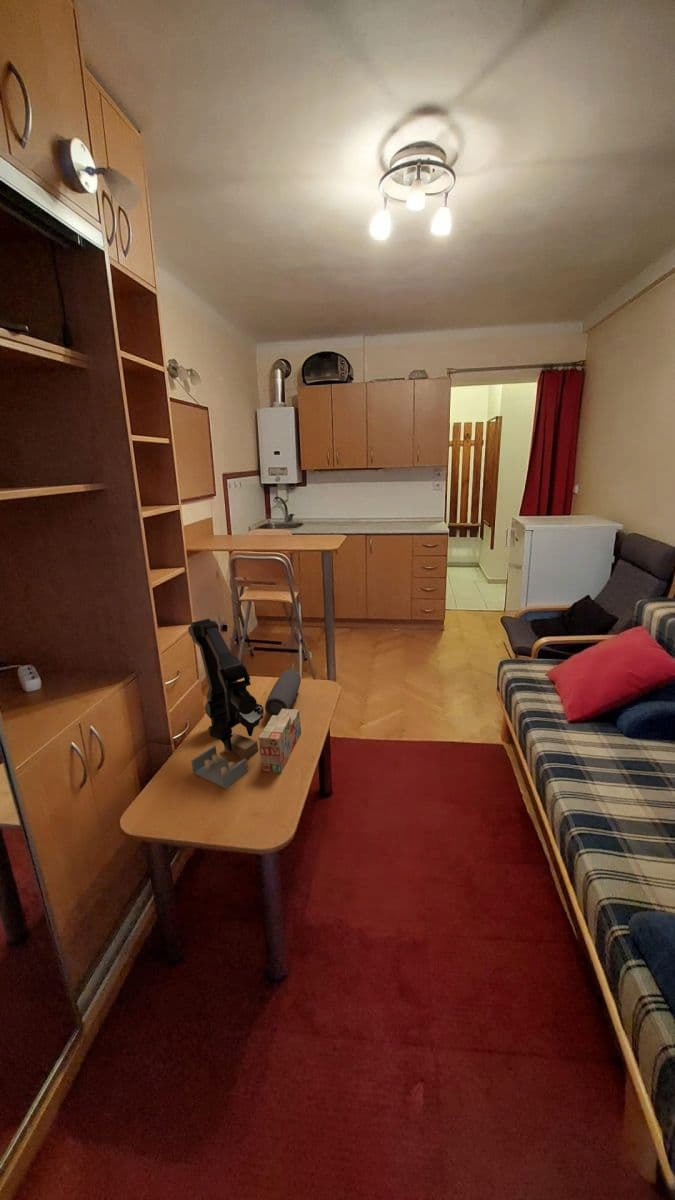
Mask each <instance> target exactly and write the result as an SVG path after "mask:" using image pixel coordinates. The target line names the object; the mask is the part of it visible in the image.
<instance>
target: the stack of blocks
mask: <svg viewBox="0 0 675 1200" xmlns="http://www.w3.org/2000/svg"><path fill="white" fill-rule="evenodd" d="M300 716H301V715H300V710H299V709H294V708H290V709H281V711H280V713H279V714H278V716H276V715H272V717H271V716H270V718H269V720H268V721H267V724H266V726H265V727H264V728H263V730H262V732H261V733H259V736H258V741H259V752H260V753H259V754H260V761H261V771H262V772H264V773H275V774H276V773H277V774H282V773H283V770H284V769H285V767H286V766H287V764H288V761H289V760H290V758H291V755H292V753H293V750H294V749H295V746H296V745H297V743H298V741H299V738H300V736H301V734H302V727H301V717H300Z"/></svg>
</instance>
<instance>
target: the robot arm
mask: <svg viewBox="0 0 675 1200" xmlns="http://www.w3.org/2000/svg"><path fill="white" fill-rule="evenodd" d="M188 633H189V636H190V637H191V639H192V641H193V642H194V644H196V645H197V646H198V648H199V651H200V655H201V659H202V662H203V663H202V664H203V666H204V667H203V669H204V672H205V675H206V680H207V683H208V684H207V685H208V690H207V694H206V700H207V701H206V703H205V705H204V712H205V714H206V715H207V717H208V718H209V719H210V720H211V721H210V722H211V726H209V727H208V731H209V736H210V737H211V738H214V739H217V740H219V741H220V742H221V743H222V744H223V746H224V745H225V747H226V748H227V749H228V751H232V746H231V737H232V736H233V735H232V734H233V730H232V729H233V728H235V727H236V726H237V725H242V726H243V727H244V728H245V729H246V732H247V735H248V737H252V736H253V732H254V729H255V728H256V727H257V726H259V725H260V722H261V720H262V719H263V718H264V713H265V712H264V710H265V709H264V706H262V704H259V703H258V702H257V699H256V698H255V697H254V696H253V695H252V694H251V693H250V691H249V690H248V689H247V687H248V686H251V685H252V684H251V683H252V682H251V676H250V675H249V673H248V670H247V668H246V666H245V664H243V663H242V662H241V660H240V659H239V657H238V656H237V655H234V654H232V653H231V651H230V649H229V647H228V645H227V643H226V641H225V640H224V637H223V636H222V634H221V632H220V628H219V625H218V623H217V621H216V620H211V619H210V618H204V619H201V620H196V621H192V622H191V623H190V626H188ZM242 679H243V680H242ZM239 680H241V681H239Z"/></svg>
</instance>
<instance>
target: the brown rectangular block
mask: <svg viewBox="0 0 675 1200" xmlns="http://www.w3.org/2000/svg"><path fill="white" fill-rule="evenodd" d="M231 735H233V736H232V737H231V746H232V751H228V749H227V748H226V747H225V745H224V744H223V747H224V748H223V749H224V751H225V752H227V753H230V754H232V755H234V756H237V757H238V758H242V759H244V758H245V759H246V761H249V760H250V759H251V758H252V757H253V756H254V755H256V754H257V753H258V752H259V747H258V741H257V740H255V739H252V738H249V737H246V736H244V735H241V734H239V733H235V732H234V733H233V732H232V734H231Z"/></svg>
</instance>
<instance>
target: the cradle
mask: <svg viewBox="0 0 675 1200" xmlns="http://www.w3.org/2000/svg"><path fill="white" fill-rule="evenodd" d="M190 761H191V766H192V767H191V768H192V773H193V774H194V775H197V776H199V777H200V778H203V779H205V780H207V781H208V782H211V783H213V784H215V785H217V786H219V787H221V788H223V789H225V790H227V789H228V788H229V787H230V786H231V785H233V784H234V783H235V782H236V781H238V780H239V779H240V778H241V777H243V776H244V775H246V773H247V772H248V771H249V770H248V763H247V761H248V760H247V759H245V758H242V759H241V760H240V761H239V762H237V763H235V762H234V761H233V760H231V761H229V760H226V759H224V758H222V757H220V756H218V754H217V747H216V745H214V744H213V745H212V746H210V747H209V748H208V749H206V750H205V751H203V752H202V753H200V754H198V755H197V756H196V757H195V758H193V759H191V760H190Z"/></svg>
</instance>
